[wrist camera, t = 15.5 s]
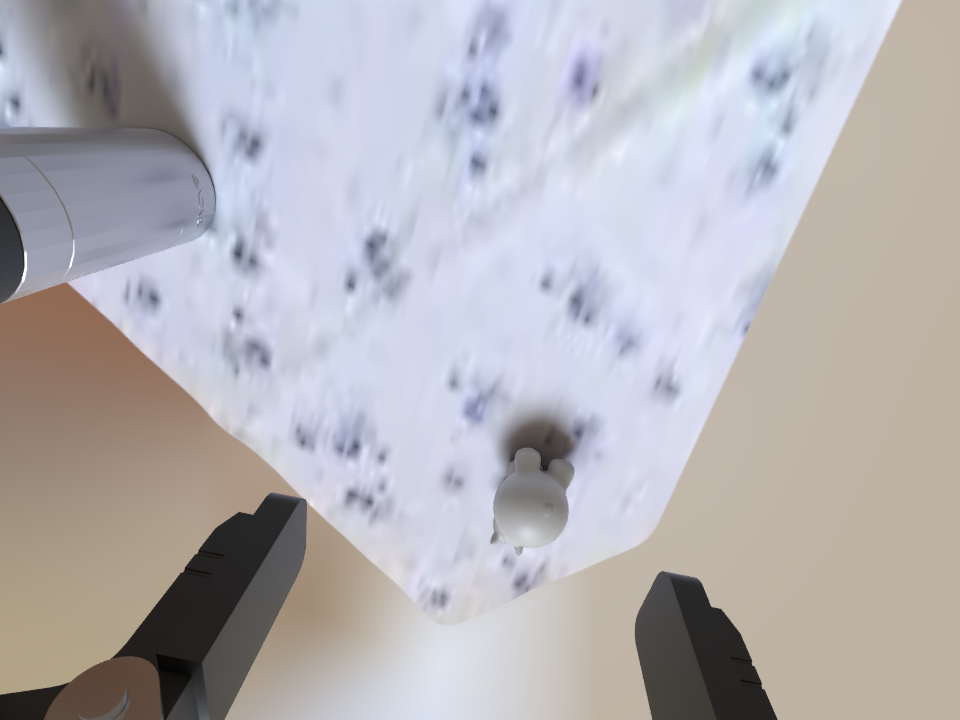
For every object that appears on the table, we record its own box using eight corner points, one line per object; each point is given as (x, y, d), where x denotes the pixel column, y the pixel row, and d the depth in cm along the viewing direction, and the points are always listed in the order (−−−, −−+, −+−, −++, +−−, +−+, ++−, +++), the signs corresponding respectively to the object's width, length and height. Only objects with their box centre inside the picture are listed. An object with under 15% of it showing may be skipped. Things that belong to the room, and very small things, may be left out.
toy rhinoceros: (480, 482, 55) (460, 554, 49) (521, 434, 46) (503, 515, 40) (536, 506, 55) (522, 579, 50) (587, 462, 46) (578, 546, 41)
